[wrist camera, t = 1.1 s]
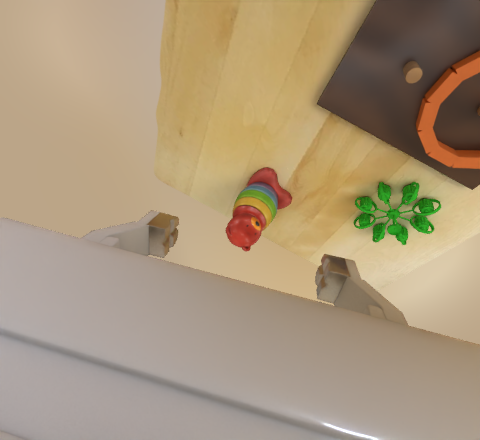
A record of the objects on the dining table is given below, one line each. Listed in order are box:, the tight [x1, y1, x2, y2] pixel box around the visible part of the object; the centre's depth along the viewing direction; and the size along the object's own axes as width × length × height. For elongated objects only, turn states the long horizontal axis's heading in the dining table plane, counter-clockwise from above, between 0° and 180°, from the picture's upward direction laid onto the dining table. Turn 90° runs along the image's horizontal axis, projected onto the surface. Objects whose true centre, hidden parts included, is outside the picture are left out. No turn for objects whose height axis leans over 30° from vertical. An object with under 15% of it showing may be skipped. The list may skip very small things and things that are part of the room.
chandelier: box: [354, 182, 441, 245], centre depth 49 cm, size 15×15×7 cm
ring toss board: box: [317, 0, 480, 190], centre depth 34 cm, size 20×30×6 cm, turn 68°
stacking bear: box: [226, 168, 292, 251], centre depth 54 cm, size 11×10×18 cm
